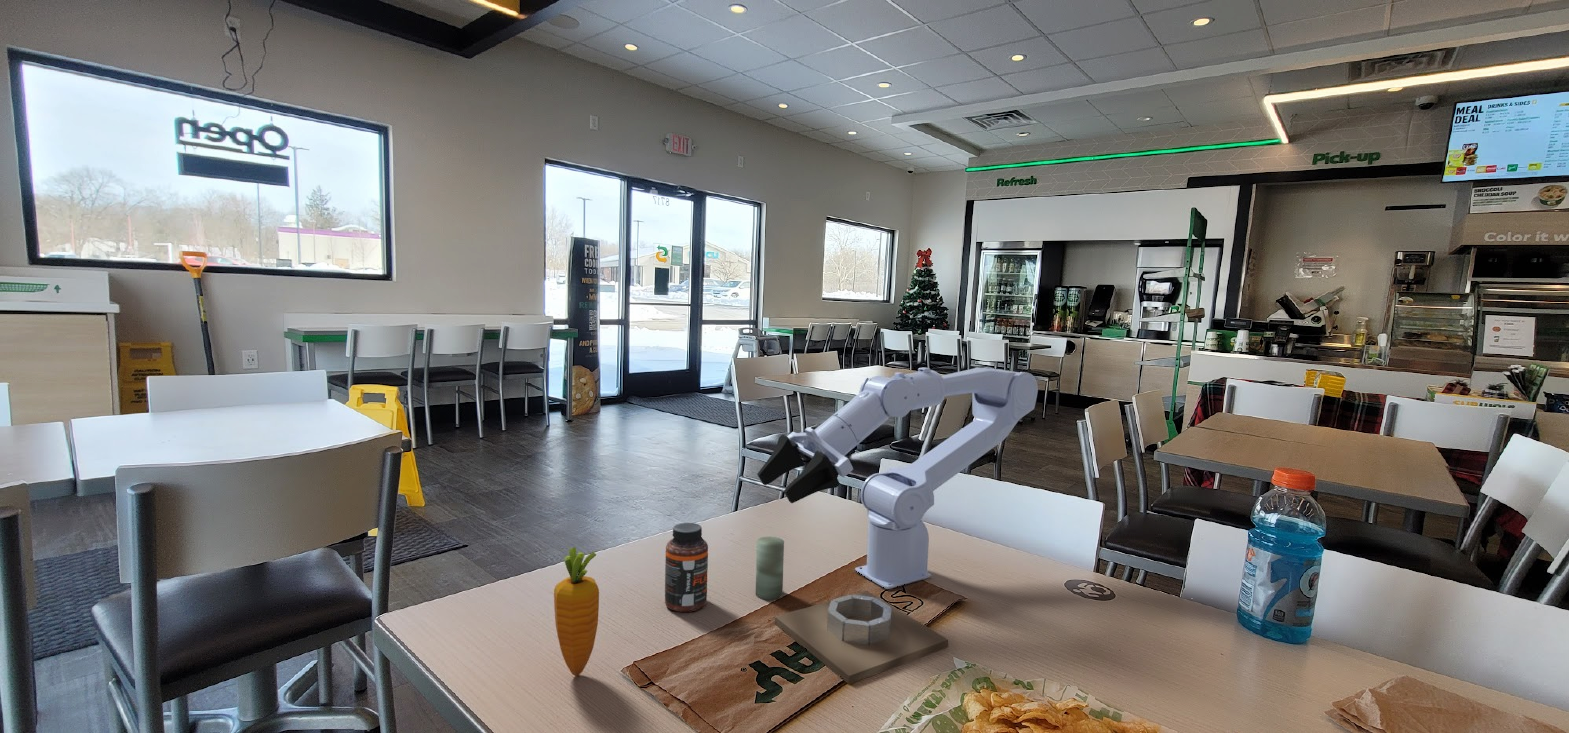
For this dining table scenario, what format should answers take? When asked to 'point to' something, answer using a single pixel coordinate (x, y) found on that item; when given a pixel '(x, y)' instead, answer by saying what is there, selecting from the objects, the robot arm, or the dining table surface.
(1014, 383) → the robot arm
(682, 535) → the supplement bottle
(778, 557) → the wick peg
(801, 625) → the collar board
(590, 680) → the dining table surface
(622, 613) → the dining table surface
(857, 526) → the dining table surface
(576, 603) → the carrot
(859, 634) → the collar ring
